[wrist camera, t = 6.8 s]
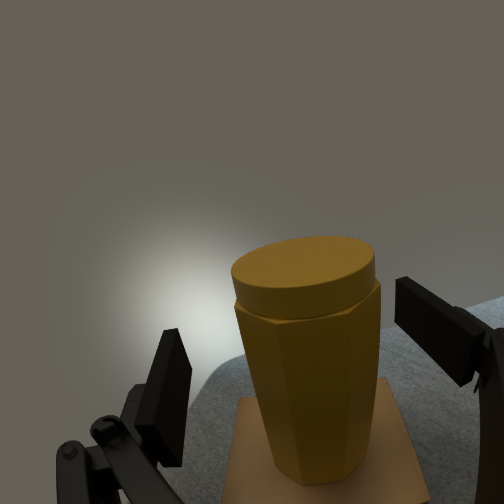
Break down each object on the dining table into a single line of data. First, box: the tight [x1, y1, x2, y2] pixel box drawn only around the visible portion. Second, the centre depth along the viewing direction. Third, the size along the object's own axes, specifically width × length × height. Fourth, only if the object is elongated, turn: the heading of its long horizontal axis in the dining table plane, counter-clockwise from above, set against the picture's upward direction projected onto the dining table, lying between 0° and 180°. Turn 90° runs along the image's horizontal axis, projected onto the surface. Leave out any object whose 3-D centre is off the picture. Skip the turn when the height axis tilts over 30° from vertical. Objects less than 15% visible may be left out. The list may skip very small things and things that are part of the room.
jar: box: [231, 236, 381, 486], centre depth 11 cm, size 5×5×11 cm
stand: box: [221, 377, 431, 504], centre depth 12 cm, size 10×10×8 cm
